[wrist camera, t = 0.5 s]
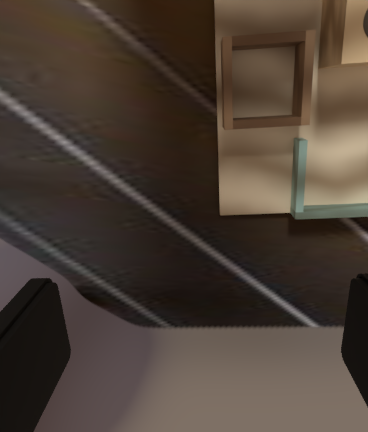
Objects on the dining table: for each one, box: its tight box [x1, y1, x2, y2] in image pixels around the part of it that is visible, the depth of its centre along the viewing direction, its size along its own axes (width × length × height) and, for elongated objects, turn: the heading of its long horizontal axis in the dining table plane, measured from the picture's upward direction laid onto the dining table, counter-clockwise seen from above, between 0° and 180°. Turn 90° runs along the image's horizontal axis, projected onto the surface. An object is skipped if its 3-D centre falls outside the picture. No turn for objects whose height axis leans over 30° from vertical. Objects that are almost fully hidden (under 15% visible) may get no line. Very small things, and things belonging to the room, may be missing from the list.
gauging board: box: [214, 0, 368, 219], centre depth 34 cm, size 24×18×3 cm
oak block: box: [318, 0, 368, 69], centre depth 29 cm, size 6×6×6 cm
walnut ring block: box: [221, 30, 316, 130], centre depth 32 cm, size 8×8×4 cm
